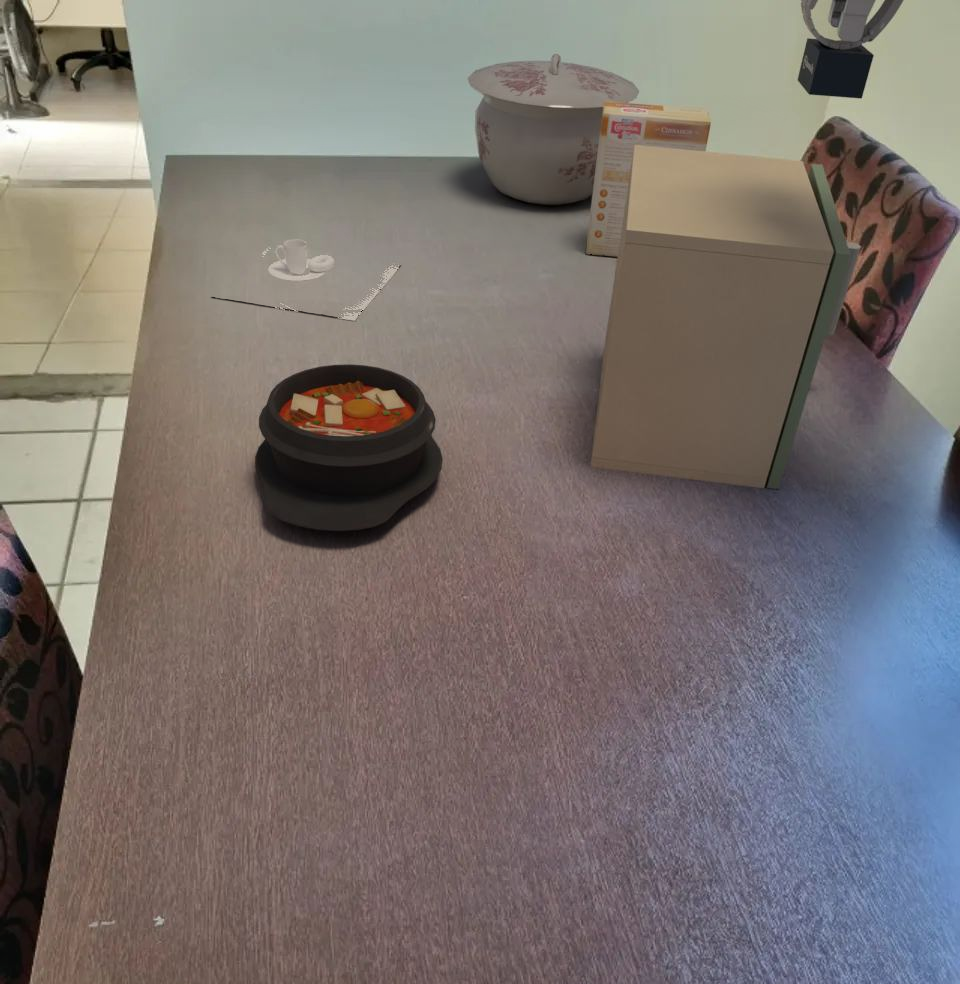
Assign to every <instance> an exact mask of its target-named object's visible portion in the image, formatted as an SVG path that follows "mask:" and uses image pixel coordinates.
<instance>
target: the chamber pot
mask: <svg viewBox="0 0 960 984" xmlns="http://www.w3.org/2000/svg"><path fill="white" fill-rule="evenodd" d="M561 60H562V57H561V56H560V54H558V53H554V54H552V55H551V58H550V60H520V61H519V60H518V61H515V60H514V61H507V62H500V63H495V64H491V65H488V66H484V67H481V68H479V69H475V70H474V71H473V72H472V73H470V75H469V76H468V77H467V81H468V84H469V86H470V87H471V88H472V89H473V90H475V91H476V92H477V93H480V94H481V95H483V97H482V98H481V100H480V102H479V104H478V106H477V108H476V109H475V114H474V131H475V132H474V134H475V141H476V147H477V153H478V157H479V160H480V162H481V164H482V166H483V169H484V170H485V172H486V175H487V177H488V178H489V180H490V183H491V184H492V185H493V187H494V188H495V189H496V190H498V191H499V192H500V193H501V194H503V195H506V196H508V197H510V198H512V199H515V200H517V201H520V202H523V203H527V204H531V203H532V204H531V205H538V204H540V206H563V205H568V204H572V203H577V202H579V201H584V200H586V199H587V198H590V197H592V195H593V186H594V178H595V169H596V161H597V153H598V145H599V137H600V129H601V120H602V113H603V106H604V102H605V101H611V102H622V103H631V102H633V101H634V100H636V99H637V98H638V95H639V93H640V90H639V88H638V87H637V86H636V85H635V83H633V81H631V80H629V79H627V78H625V77H623V76H621V75H618V74H616V73H614V72H612V71H609V70H604V69H601V68H598V67H593V66H588V65H583V64H577V63H572V62H564V61H561Z"/></svg>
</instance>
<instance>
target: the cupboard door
mask: <svg viewBox="0 0 960 984" xmlns="http://www.w3.org/2000/svg"><path fill="white" fill-rule="evenodd" d="M807 175H808V178H809V181H810V184H811V187H812V189H813V192H814V195H815V198H816V201H817V204H818V207H819V210H820V213H821V216H822V218H823V221H824V224H825V227H826V230H827V233H828V236H829V239H830V242H831V244H832V247H833V250H834V253H833V256H832V259H831V263H830V266H829V270H828V273H827V276H826V280H825V283H824V287H823V290H822V293H821V297H820V300H819V304H818V307H817V310H816V314H815V317H814V321H813V324H812V327H811V331H810V334H809V338H808V341H807V344H806V348H805V351H804V354H803V358H802V361H801V365H800V368H799V371H798V375H797V378H796V382H795V385H794V388H793V392H792V395H791V399H790V402H789V405H788V409H787V412H786V416H785V419H784V422H783V426H782V429H781V432H780V436H779V439H778V443H777V446H776V449H775V453H774V456H773V460H772V463H771V466H770V470H769V473H768V477H767V480H766V488H767V489H773V490H779V489H780V486H781V483H782V479H783V476H784V473H785V470H786V466H787V463H788V459H789V457H790V453H791V450H792V447H793V443H794V440H795V436H796V434H797V432H798V431H797V430H798V428H799V424H800V421H801V417H802V414H803V411H804V407H805V404H806V401H807V399H808V398H807V397H808V395H809V391H810V388H811V386H812V381H813V378H814V375H815V372H816V368H817V366H818V362H819V359H820V356H821V353H822V349H823V346H824V342H825V340H826V336H827V337H831V336H834V334H835V331H836V328H837V325H838V322H839V320H840V316H841V313H842V310H843V307H844V303H845V301H846V300H845V299H846V297H847V293H848V291H849V287H850V284H851V281H852V278H853V274H854V271H855V269H856V264H857V261H858V258H859V255H860V253H861V252H860V251H861V249H862V246H861V245H860V244H859V243H855V242H852V241H850V242H849V241H847V239H846V236H845V232H844V230H843V226H842V224H841V220H840V217H839V213H838V210H837V207H836V204H835V201H834V197H833V194H832V191H831V187H830V184H829V181H828V178H827V175H826V171H825V169H824V165H823V164H819V163H811V164H810V167H809V171H808V173H807Z"/></svg>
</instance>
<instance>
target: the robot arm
mask: <svg viewBox="0 0 960 984" xmlns="http://www.w3.org/2000/svg"><path fill="white" fill-rule="evenodd" d="M875 3H876V0H831V5H830V8H829V13H828V17H827V22H828V23H829V25H830V26H831V27H832V28H837V29H836V34H837V36H838V38H839V39H840V40H842V41H851V42H857V41H859V40H860V39H861V37H862V35H863V32H864V28H865V25H866V24H867V21H868V17H869V15H870V13H871V11H872V9H873V8H874V4H875Z"/></svg>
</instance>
